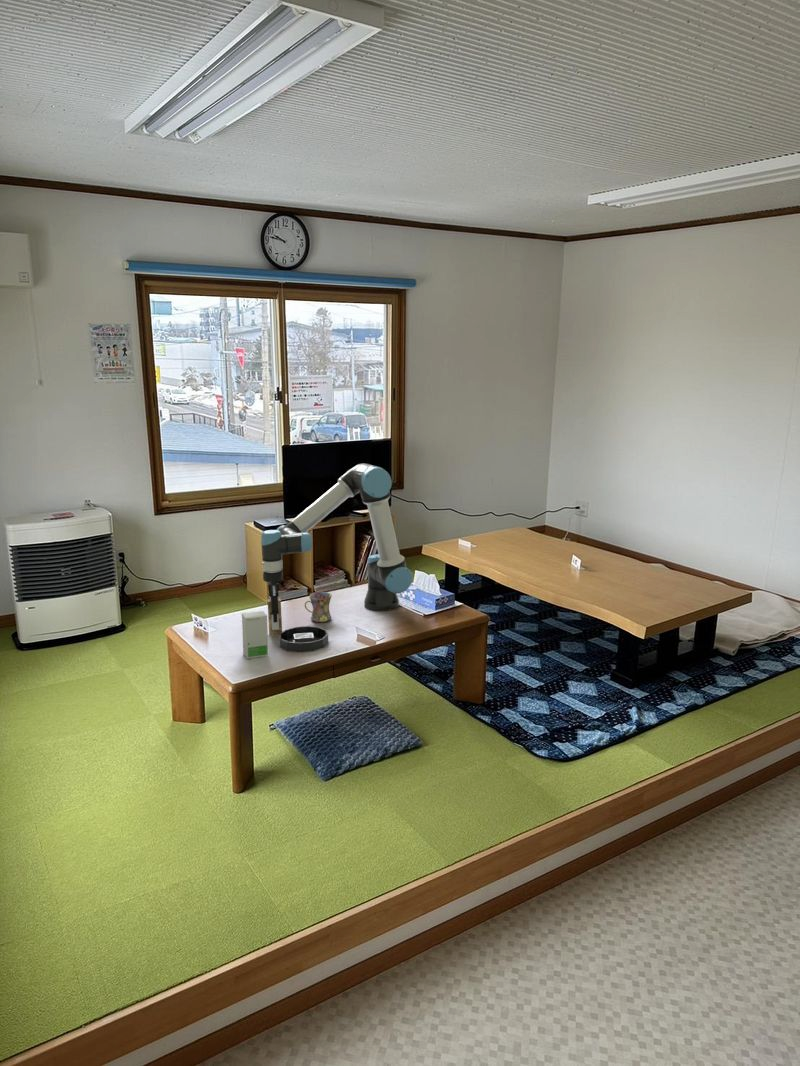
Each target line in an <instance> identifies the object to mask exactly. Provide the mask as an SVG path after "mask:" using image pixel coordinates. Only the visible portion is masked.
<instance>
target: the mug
mask: <svg viewBox="0 0 800 1066" xmlns="http://www.w3.org/2000/svg"><path fill="white" fill-rule="evenodd" d="M308 597H309V599H310V600H306V601H305V603H304V608H305V609H306V610H307V611H308V612H309V613H311V617H310V619H311V621H313V622H317V623H324V622H325V623H326V622H328V621H330V620H331V619H332V615H331V613H330V602H331V598H332V597H333V595H332V594H331V593H330V592H325V591H324V592H323V591H320V592H319V591H318V592H313V593H311V594H309V596H308ZM308 603H311V605H312V611H311V610H309V609H308V607H307V604H308Z"/></svg>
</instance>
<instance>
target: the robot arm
mask: <svg viewBox="0 0 800 1066" xmlns="http://www.w3.org/2000/svg"><path fill="white" fill-rule="evenodd" d="M392 482H393V481H392V478H391V475H390V473H389V472H388V471H386V469H385V468H383V467H380V466H377V465H372V464H370V463H363V462H362V463H358V464H356V465H355V466H353V467H352V468H350V469H348V470H347V471H346V472H345V473H344V474H343V475H341V476H340V477H339V478H337V483H335V484H334V485H333V486H332V487H330V488H329V489H328V490H327V491H326V492H324V493H323V494H322V495H321V496H319V498H317V499H316V500H315V501H314V502H312V503H311V504H310V505H309V506H308V507H306V508H305V509H304V510H302V512H300V513H299V514H297V516H296V517H294V518H293V519H292V520H291V521H289V522H288V523H286V525H280V526H279V527H277V528H276V529H268V530H264V531H262V532H261V537H260V538H261V539H260V540H261V541H260V542H261V543H260V545H261V556H262V557H261V558H262V560H261V561H262V562H260V565H261V566H262V570H263V572H262V580H263V581H264V583H268V584H267V588H268V593H269V594H268V595H269V597H270V598H269V599H271V608H272V612H271V613H270V615H271V617H272V630H279V612H278V599H279V589H280V588H279V587H280V586H279V583H278V582H281V581H283V579H284V574H283V568H284V567H283V555H289V554H299V553H305V552H310V551H311V550H312V548H313V538H312V535H311V533H310V532H309V531H310V530H311V529H312V528H313V527H315V526H316V525H317V524H319V523H320V522H321V521H322V520H324V519H325V518H326V517H327V516H328V515H329V514H330V513H332V512H333V511H334V510H335V509H337V508H338V507H339V506H340V505H341V504H342V503H344V502H345V501H346V500H347V499H348V498H353V497H355V496H356V495H357V494H360V497H361V501H362V503H363V504H364V505H366V506H367V509H368V514H369V518H370V523H371V527H372V532H373V536H374V540H375V544H376V548H377V553H376V554H371V555H369V556H368V557H367V563H366V564H367V592H366V594H365V598H364V603H363V604H364V608H366V609H367V610H370V611H375V612H386V611H387V612H388V611H392V610H396V609H397V608H399V605H400V599H399V596H398V594H402V593H404V592H406V591H407V590H408V589H409V588H410V587H411V585H412V583H413V579H414V577H413V573H412V571H411V570H410V569H409V568H408V567H407V564H406V558H405V556H403V555H402V554H400V548H399V545H398V540H397V536H396V532H395V527H394V522H393V518H392V513H391V508H390V505H389V499H390V498H391V491H390V490H391V488H392V484H393V483H392Z"/></svg>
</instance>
